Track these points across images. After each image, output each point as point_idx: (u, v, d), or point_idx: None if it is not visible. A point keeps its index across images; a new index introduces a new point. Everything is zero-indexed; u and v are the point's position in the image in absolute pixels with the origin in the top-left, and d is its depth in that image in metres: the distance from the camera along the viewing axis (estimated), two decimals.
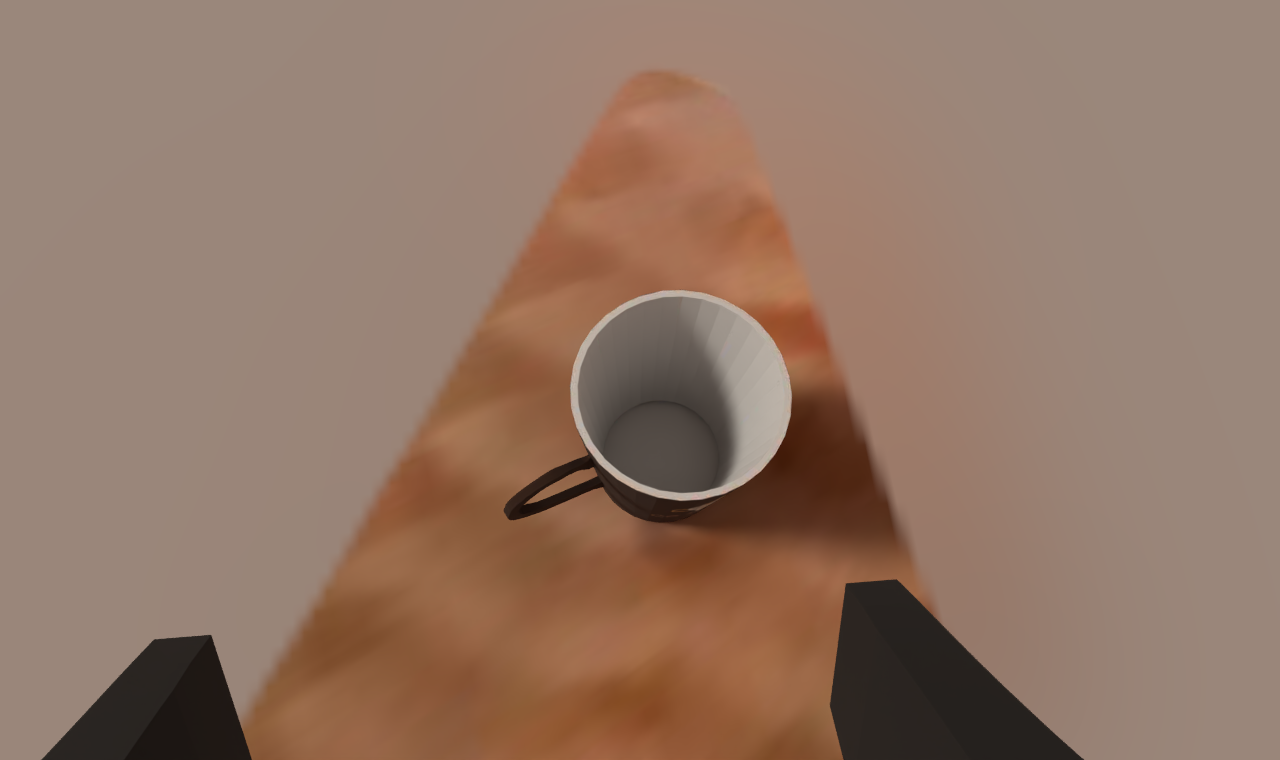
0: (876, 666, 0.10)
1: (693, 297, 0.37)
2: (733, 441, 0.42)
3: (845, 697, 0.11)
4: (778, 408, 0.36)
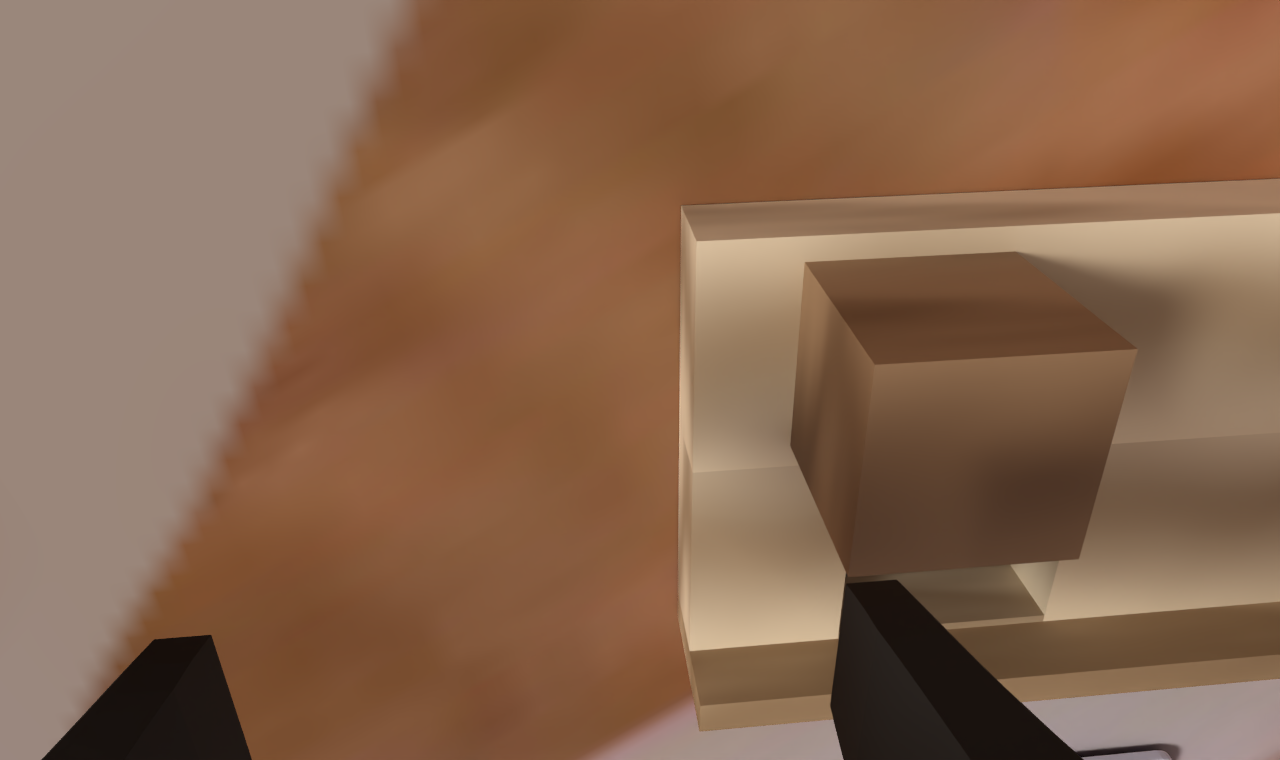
0: (876, 666, 0.10)
1: None
2: None
3: (845, 697, 0.11)
4: None
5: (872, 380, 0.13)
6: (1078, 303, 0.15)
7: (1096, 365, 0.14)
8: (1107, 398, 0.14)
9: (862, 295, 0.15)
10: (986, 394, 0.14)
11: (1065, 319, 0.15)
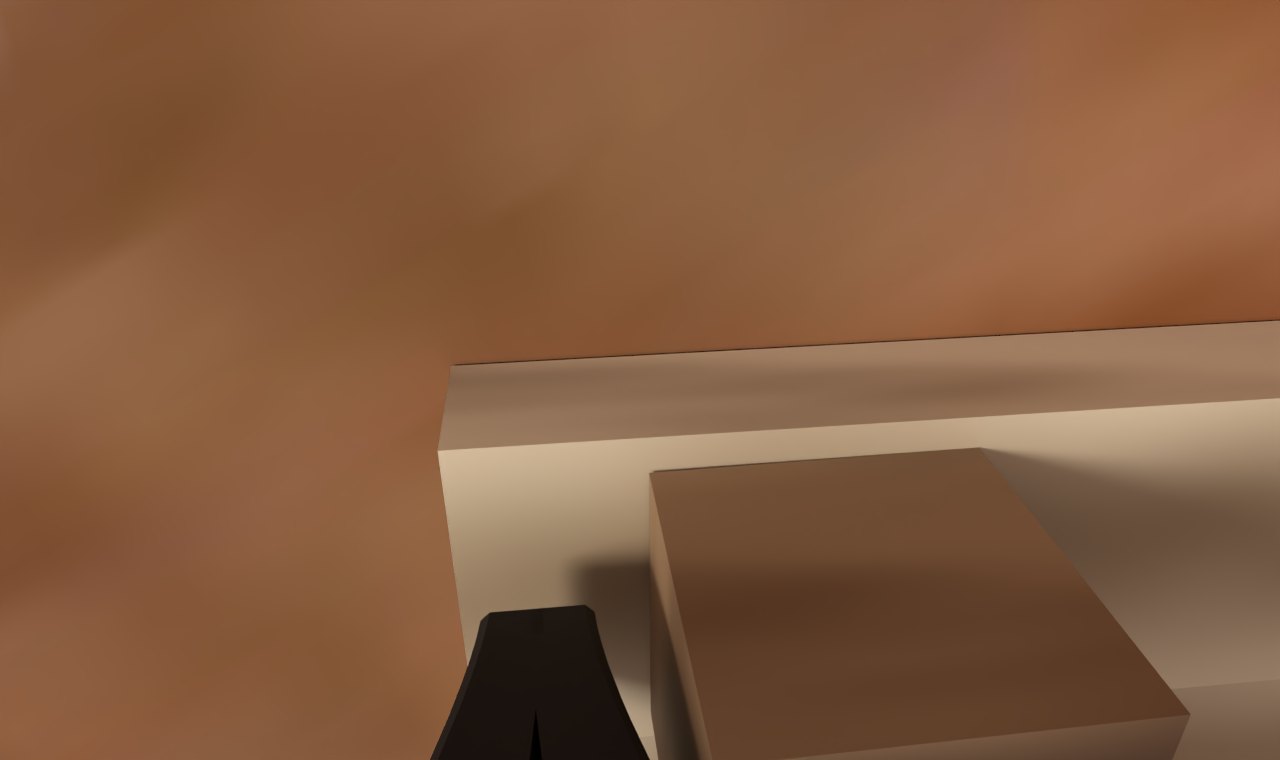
0: None
1: None
2: None
3: None
4: None
5: None
6: (1080, 577, 0.09)
7: (1119, 741, 0.08)
8: None
9: (726, 557, 0.09)
10: None
11: (1061, 624, 0.09)
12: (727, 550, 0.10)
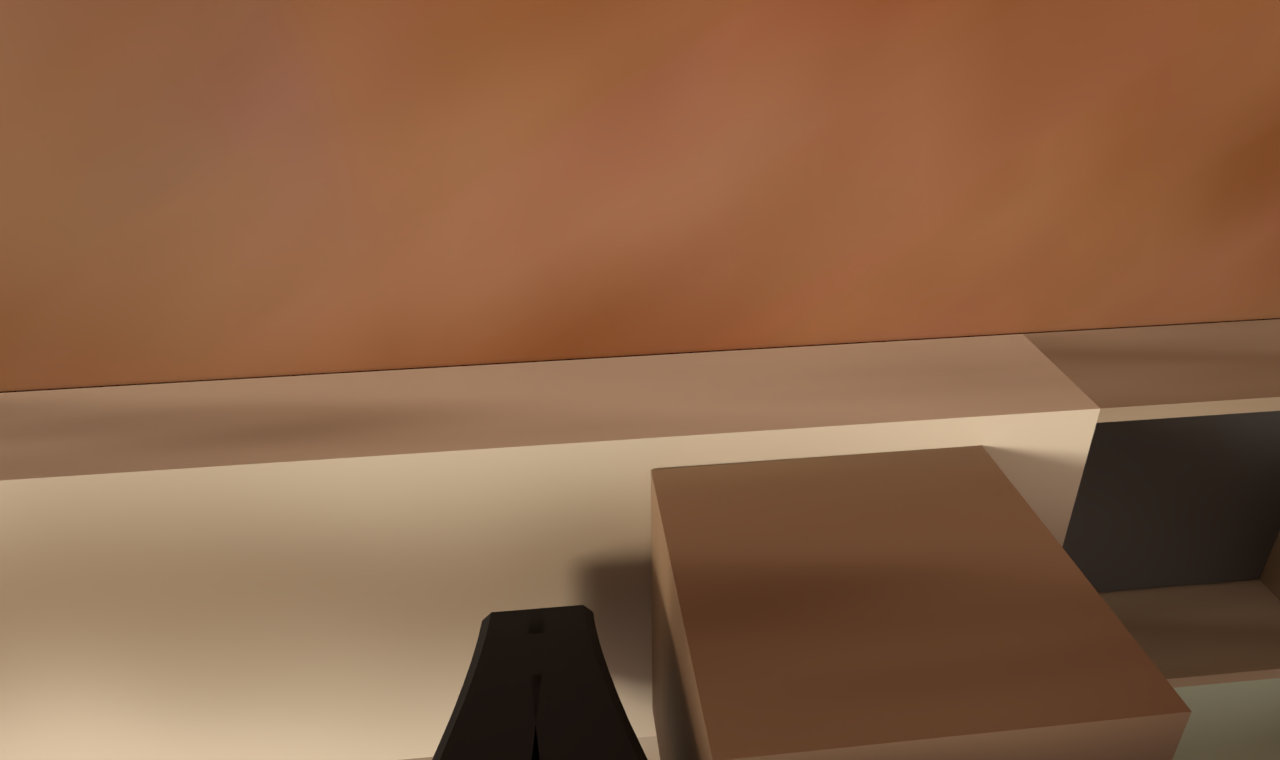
0: None
1: None
2: None
3: None
4: None
5: None
6: (1080, 574, 0.09)
7: (1120, 738, 0.08)
8: None
9: (726, 553, 0.09)
10: None
11: (1062, 622, 0.08)
12: (728, 546, 0.10)
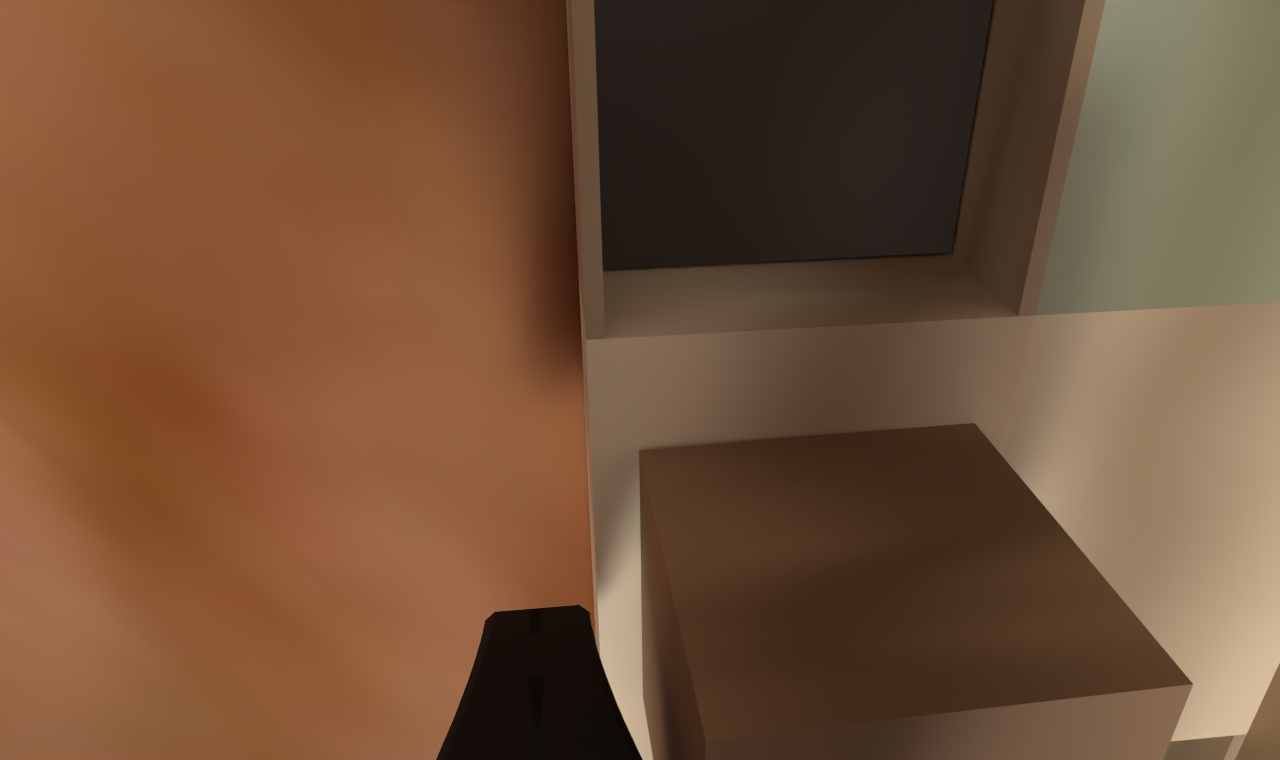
0: None
1: None
2: None
3: None
4: None
5: None
6: (673, 587, 0.09)
7: None
8: (809, 751, 0.07)
9: None
10: None
11: (681, 681, 0.08)
12: None
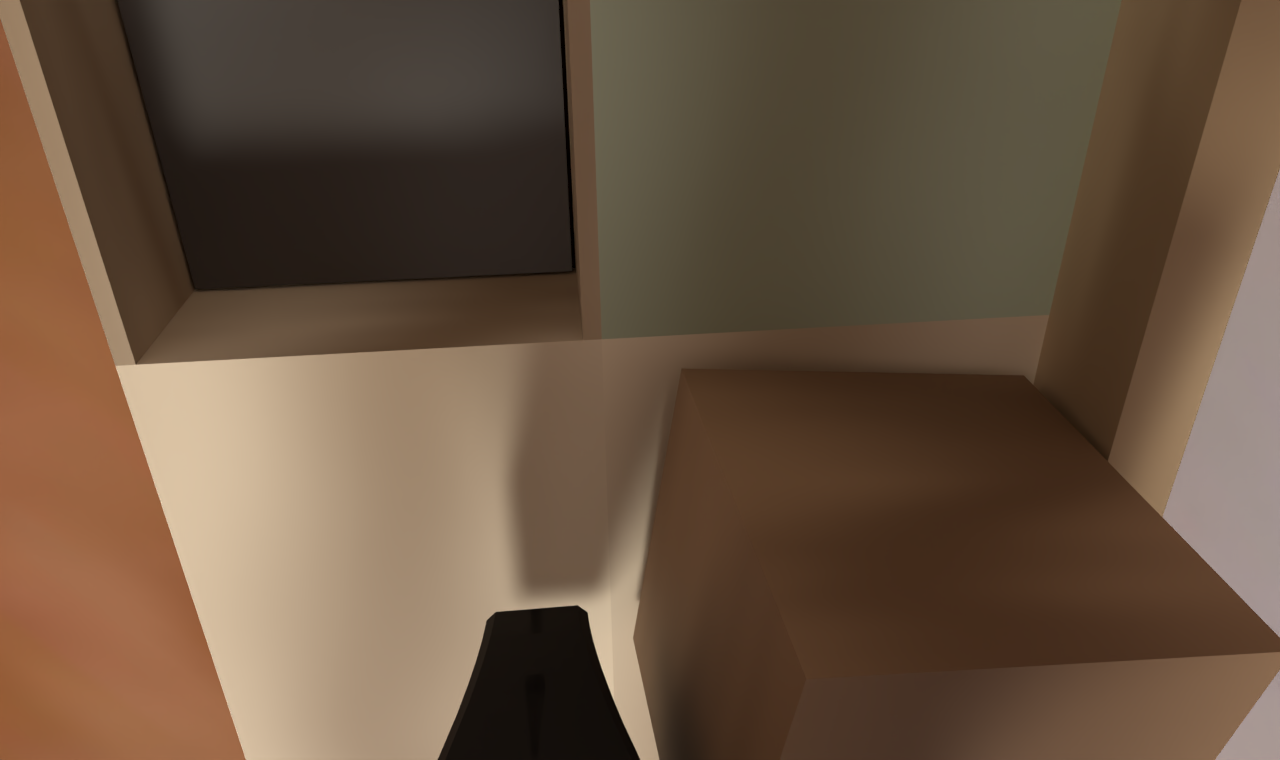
0: None
1: None
2: None
3: None
4: None
5: None
6: (742, 512, 0.08)
7: (819, 731, 0.07)
8: (907, 697, 0.07)
9: (664, 711, 0.10)
10: None
11: (748, 615, 0.07)
12: (664, 699, 0.10)
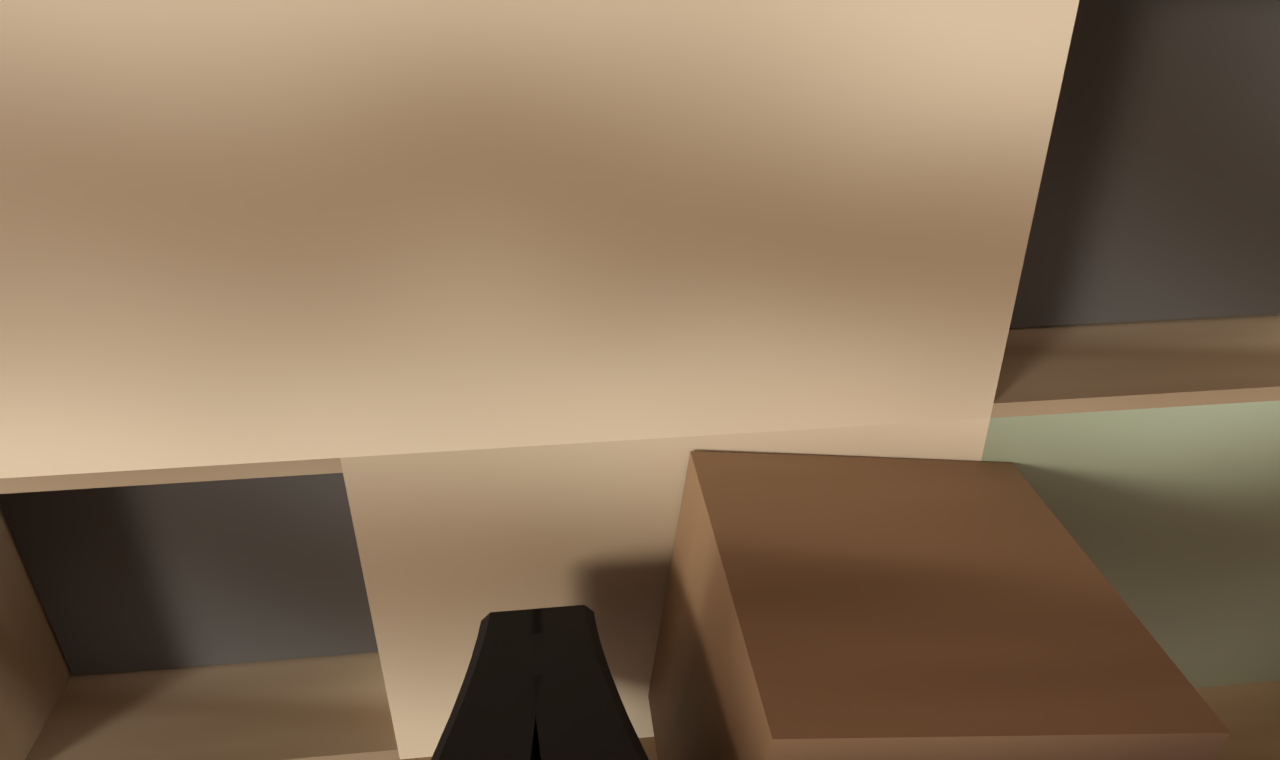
0: None
1: None
2: None
3: None
4: None
5: None
6: (1115, 593, 0.09)
7: (1158, 752, 0.08)
8: None
9: (772, 539, 0.09)
10: None
11: (1101, 636, 0.09)
12: (772, 533, 0.09)
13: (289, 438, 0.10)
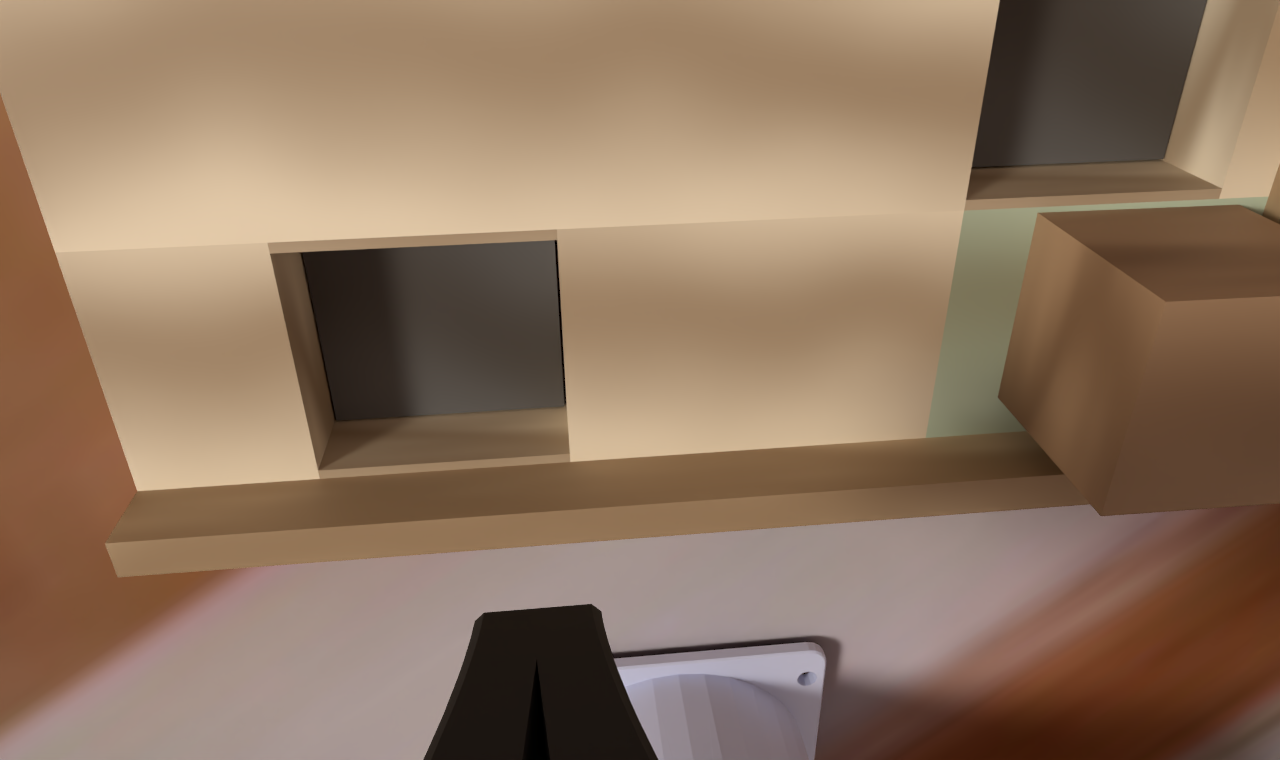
0: (541, 696, 0.09)
1: None
2: None
3: None
4: None
5: (1160, 316, 0.14)
6: None
7: None
8: None
9: (1113, 241, 0.16)
10: (1264, 332, 0.14)
11: None
12: (1111, 240, 0.16)
13: (528, 214, 0.16)
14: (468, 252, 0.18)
